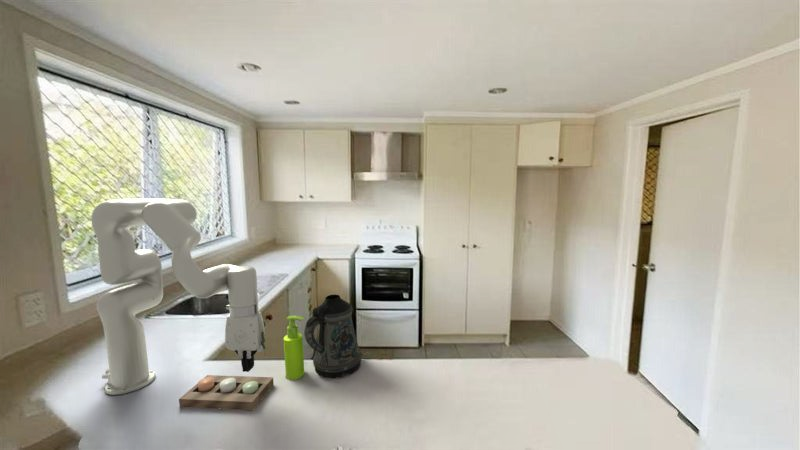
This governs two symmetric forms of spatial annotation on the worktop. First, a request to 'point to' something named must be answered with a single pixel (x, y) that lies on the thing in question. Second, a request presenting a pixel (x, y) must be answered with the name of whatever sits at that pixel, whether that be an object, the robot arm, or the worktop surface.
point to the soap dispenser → (293, 350)
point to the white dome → (228, 385)
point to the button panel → (227, 394)
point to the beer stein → (333, 339)
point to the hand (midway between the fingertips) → (248, 369)
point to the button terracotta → (206, 384)
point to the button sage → (250, 387)
